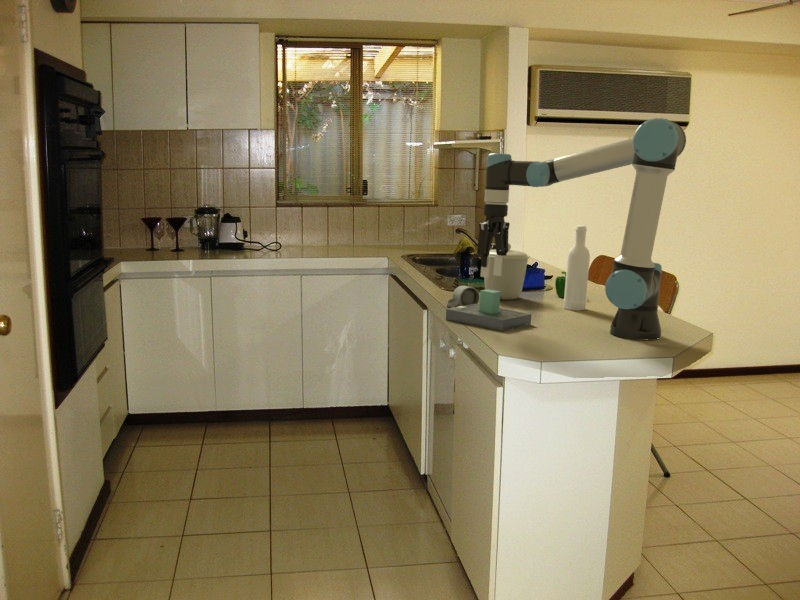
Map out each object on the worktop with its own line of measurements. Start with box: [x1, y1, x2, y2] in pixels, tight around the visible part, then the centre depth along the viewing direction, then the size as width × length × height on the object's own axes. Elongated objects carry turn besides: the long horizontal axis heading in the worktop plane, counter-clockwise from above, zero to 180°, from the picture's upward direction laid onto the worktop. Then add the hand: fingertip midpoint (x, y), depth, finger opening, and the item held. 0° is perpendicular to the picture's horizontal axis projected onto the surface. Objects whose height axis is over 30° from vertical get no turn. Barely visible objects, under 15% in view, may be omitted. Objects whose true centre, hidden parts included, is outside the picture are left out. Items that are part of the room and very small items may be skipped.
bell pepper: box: [554, 270, 566, 299], centre depth 308 cm, size 8×8×10 cm
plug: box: [478, 289, 501, 314], centre depth 252 cm, size 5×4×9 cm
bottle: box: [562, 224, 591, 312], centre depth 282 cm, size 8×8×30 cm
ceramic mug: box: [445, 285, 480, 308], centre depth 277 cm, size 11×8×8 cm
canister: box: [483, 242, 530, 301], centre depth 299 cm, size 18×18×21 cm
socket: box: [445, 303, 532, 332], centre depth 253 cm, size 22×16×4 cm
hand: (491, 276), depth 250 cm, fingers open, 6 cm apart
